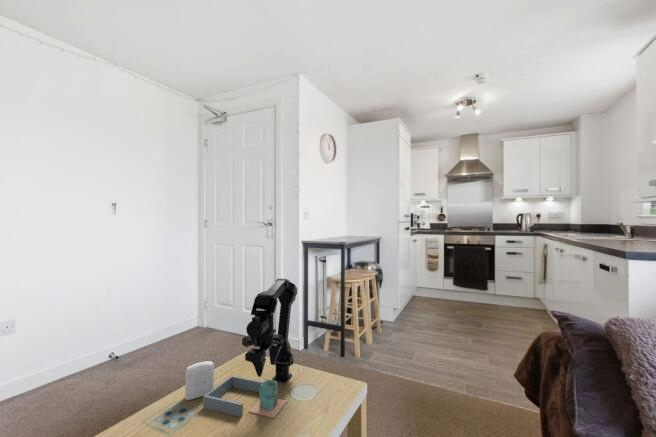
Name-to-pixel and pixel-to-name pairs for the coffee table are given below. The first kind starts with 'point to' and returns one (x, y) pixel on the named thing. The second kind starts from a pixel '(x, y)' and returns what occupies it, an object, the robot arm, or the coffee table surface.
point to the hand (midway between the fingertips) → (266, 370)
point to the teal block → (268, 394)
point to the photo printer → (199, 380)
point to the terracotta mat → (268, 413)
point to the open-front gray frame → (227, 406)
